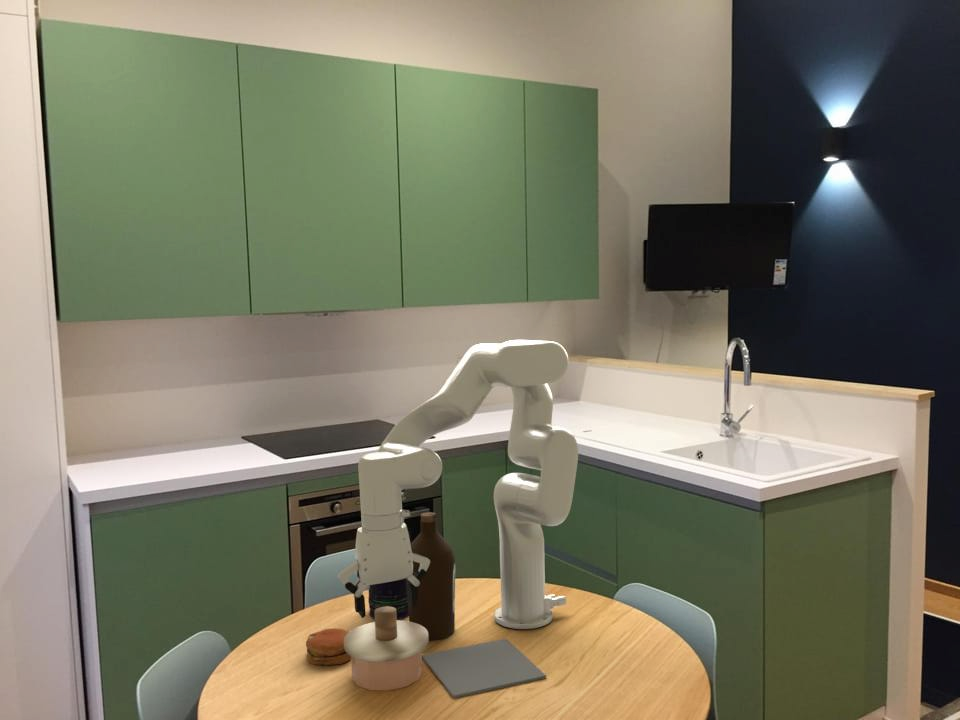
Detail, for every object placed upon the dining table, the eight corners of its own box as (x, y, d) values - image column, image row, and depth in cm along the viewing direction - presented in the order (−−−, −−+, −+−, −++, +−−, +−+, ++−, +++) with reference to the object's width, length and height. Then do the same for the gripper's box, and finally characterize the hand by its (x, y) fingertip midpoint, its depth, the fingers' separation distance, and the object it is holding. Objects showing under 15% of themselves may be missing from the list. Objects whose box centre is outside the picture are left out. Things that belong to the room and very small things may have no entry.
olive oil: (414, 645, 168) (410, 523, 166) (401, 626, 178) (396, 511, 176) (464, 636, 172) (460, 517, 170) (448, 618, 182) (445, 505, 180)
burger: (358, 662, 161) (357, 639, 161) (309, 671, 158) (308, 647, 158) (349, 643, 171) (348, 621, 170) (303, 650, 168) (302, 628, 167)
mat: (506, 640, 169) (506, 638, 169) (546, 678, 152) (546, 675, 152) (421, 657, 162) (421, 655, 162) (453, 698, 146) (453, 695, 146)
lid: (413, 620, 165) (412, 590, 165) (440, 651, 151) (439, 618, 150) (335, 634, 160) (334, 603, 159) (355, 668, 145) (354, 633, 145)
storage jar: (411, 620, 181) (408, 553, 180) (365, 621, 181) (363, 554, 180) (415, 603, 191) (413, 539, 190) (372, 604, 191) (369, 540, 190)
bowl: (409, 654, 164) (408, 624, 163) (430, 681, 152) (429, 649, 152) (346, 666, 159) (345, 636, 159) (362, 695, 148) (361, 663, 147)
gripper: (420, 508, 160) (425, 595, 162) (331, 522, 154) (336, 611, 155) (433, 518, 153) (437, 608, 155) (340, 532, 147) (345, 626, 148)
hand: (387, 610), depth 155 cm, fingers open, 9 cm apart
